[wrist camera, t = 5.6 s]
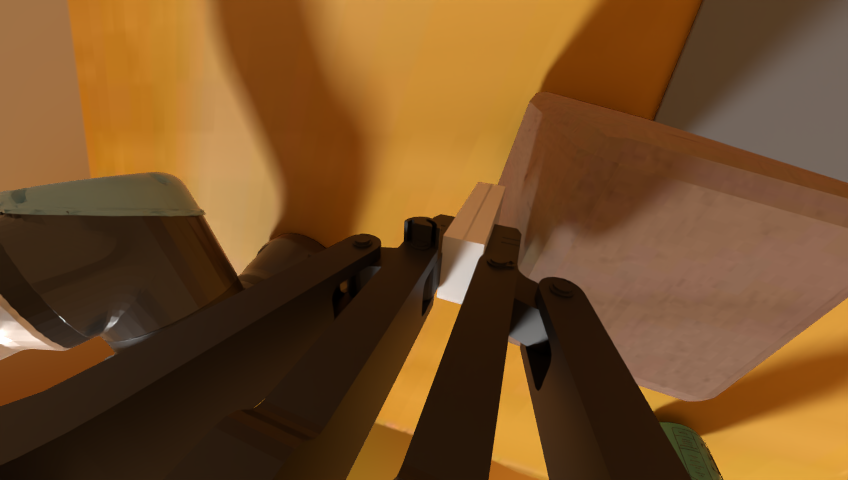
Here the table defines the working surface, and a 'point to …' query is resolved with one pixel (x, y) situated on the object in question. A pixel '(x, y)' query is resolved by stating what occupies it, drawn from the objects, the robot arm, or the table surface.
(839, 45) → the mat
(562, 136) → the wooden block
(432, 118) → the table surface
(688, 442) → the beverage bottle
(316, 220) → the table surface
